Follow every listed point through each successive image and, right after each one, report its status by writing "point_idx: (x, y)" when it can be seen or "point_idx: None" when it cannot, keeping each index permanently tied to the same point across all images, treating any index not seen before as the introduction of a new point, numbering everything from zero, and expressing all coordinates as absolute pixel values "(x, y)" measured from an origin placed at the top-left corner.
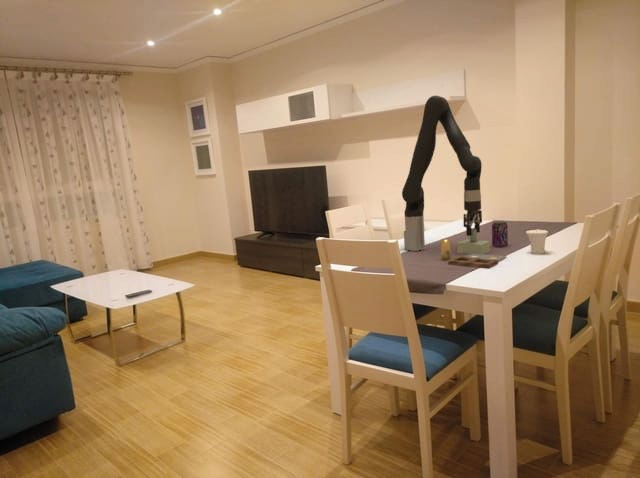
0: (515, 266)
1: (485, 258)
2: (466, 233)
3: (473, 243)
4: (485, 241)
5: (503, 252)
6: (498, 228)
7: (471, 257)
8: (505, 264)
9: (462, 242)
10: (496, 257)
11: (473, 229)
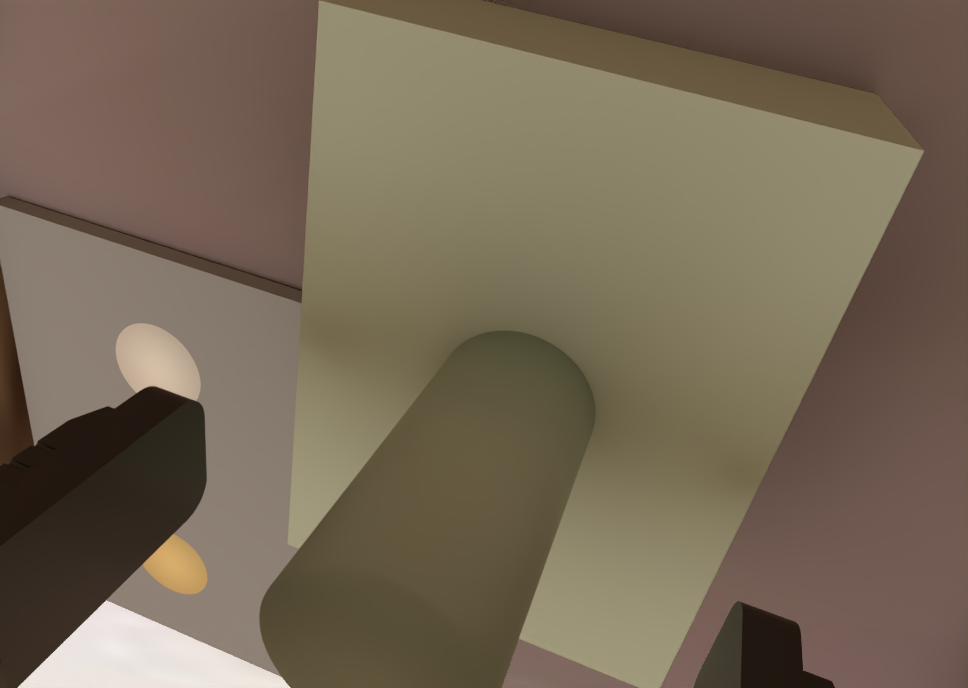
0: (60, 681)
1: None
2: (115, 409)
3: (342, 415)
4: (591, 622)
5: (583, 684)
6: None
7: (97, 337)
8: (76, 629)
9: (389, 150)
10: (217, 596)
11: (347, 671)
